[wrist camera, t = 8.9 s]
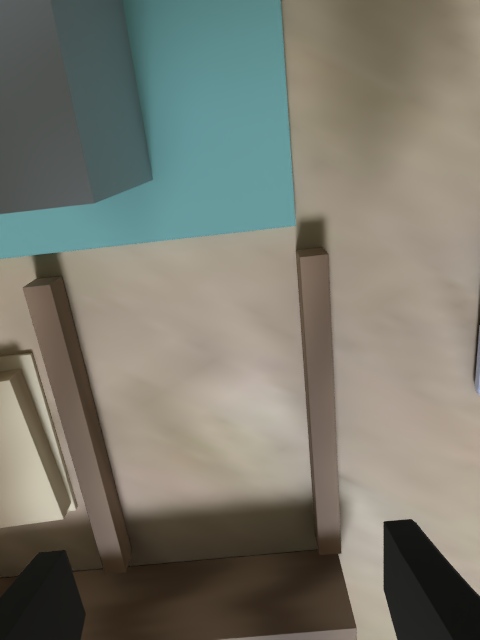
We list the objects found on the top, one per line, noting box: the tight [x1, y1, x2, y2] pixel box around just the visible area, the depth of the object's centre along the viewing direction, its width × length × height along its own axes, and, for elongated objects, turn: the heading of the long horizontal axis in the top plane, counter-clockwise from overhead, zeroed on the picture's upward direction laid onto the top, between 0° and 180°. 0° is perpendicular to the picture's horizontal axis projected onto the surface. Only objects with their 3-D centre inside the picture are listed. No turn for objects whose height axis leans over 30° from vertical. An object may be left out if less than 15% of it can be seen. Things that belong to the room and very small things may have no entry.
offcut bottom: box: [0, 353, 78, 511], centre depth 21 cm, size 5×8×1 cm, turn 6°
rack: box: [0, 247, 357, 640], centre depth 19 cm, size 19×16×4 cm
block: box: [0, 0, 153, 214], centre depth 11 cm, size 2×8×7 cm, turn 6°
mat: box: [0, 0, 296, 259], centre depth 15 cm, size 12×12×1 cm
